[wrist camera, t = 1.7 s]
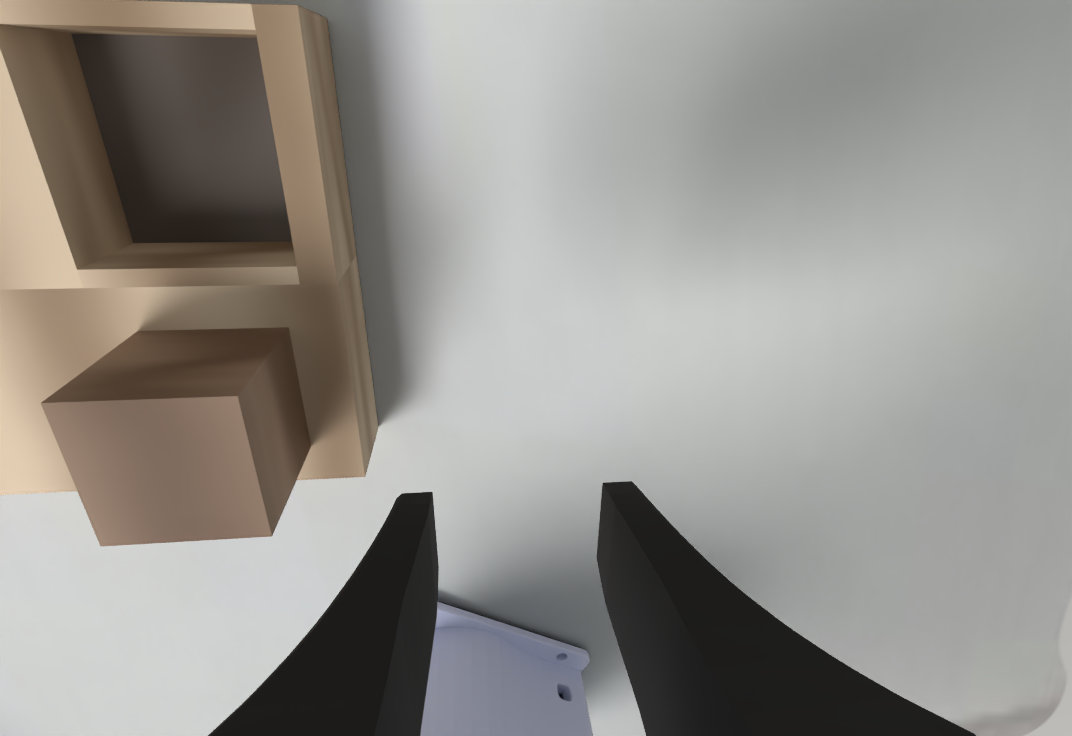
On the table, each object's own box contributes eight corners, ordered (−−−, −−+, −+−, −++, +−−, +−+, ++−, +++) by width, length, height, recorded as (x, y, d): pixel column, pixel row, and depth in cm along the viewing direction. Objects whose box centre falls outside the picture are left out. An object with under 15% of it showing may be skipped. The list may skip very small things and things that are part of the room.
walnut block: (288, 327, 16) (237, 395, 13) (311, 446, 18) (271, 536, 14) (137, 331, 16) (40, 402, 12) (175, 452, 18) (100, 546, 14)
